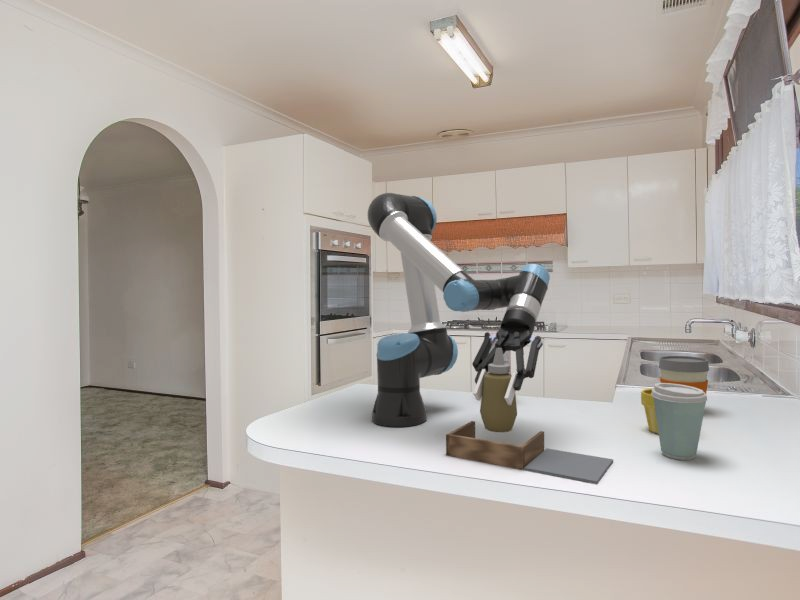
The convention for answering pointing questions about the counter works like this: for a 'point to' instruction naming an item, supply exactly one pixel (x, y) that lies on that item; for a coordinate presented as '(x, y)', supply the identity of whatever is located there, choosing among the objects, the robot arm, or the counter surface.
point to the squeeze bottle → (497, 397)
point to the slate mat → (570, 465)
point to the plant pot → (649, 409)
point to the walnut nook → (492, 448)
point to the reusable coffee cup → (684, 371)
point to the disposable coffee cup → (679, 418)
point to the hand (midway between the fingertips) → (491, 399)
